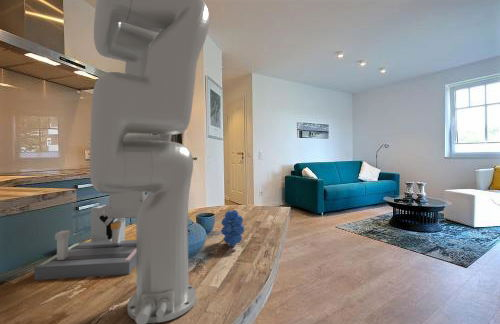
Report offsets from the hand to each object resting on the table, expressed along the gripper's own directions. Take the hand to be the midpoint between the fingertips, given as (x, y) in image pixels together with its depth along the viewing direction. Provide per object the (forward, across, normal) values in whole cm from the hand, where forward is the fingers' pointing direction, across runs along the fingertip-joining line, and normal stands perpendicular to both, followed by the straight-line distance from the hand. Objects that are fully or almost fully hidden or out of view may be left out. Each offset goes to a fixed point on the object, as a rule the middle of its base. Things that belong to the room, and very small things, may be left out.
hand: (128, 237), depth 71 cm
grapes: (+6, -31, -4) cm, 32 cm away
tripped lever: (+2, +4, 0) cm, 4 cm away
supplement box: (+6, +10, -12) cm, 17 cm away
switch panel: (+5, +6, +4) cm, 9 cm away
